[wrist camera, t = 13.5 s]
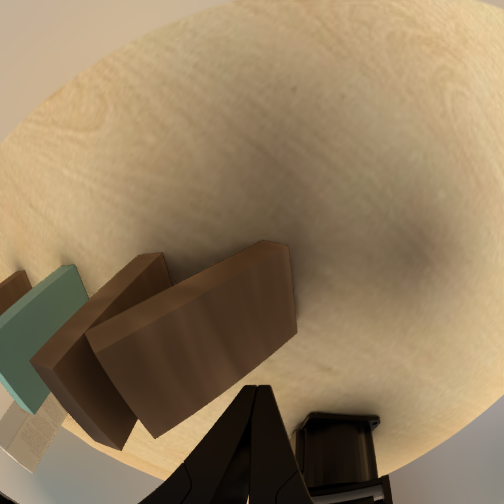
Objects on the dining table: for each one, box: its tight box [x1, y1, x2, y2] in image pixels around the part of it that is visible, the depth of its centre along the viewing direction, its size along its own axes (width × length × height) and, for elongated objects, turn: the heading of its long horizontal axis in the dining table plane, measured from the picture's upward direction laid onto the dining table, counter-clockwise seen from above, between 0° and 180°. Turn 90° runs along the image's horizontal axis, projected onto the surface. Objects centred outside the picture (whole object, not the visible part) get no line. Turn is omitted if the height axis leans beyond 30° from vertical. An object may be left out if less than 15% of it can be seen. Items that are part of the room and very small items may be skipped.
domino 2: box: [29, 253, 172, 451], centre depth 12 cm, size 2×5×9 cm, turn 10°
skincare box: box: [0, 392, 68, 473], centre depth 21 cm, size 6×4×12 cm
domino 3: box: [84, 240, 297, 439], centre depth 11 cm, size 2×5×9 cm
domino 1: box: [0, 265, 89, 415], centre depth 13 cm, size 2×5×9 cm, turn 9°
